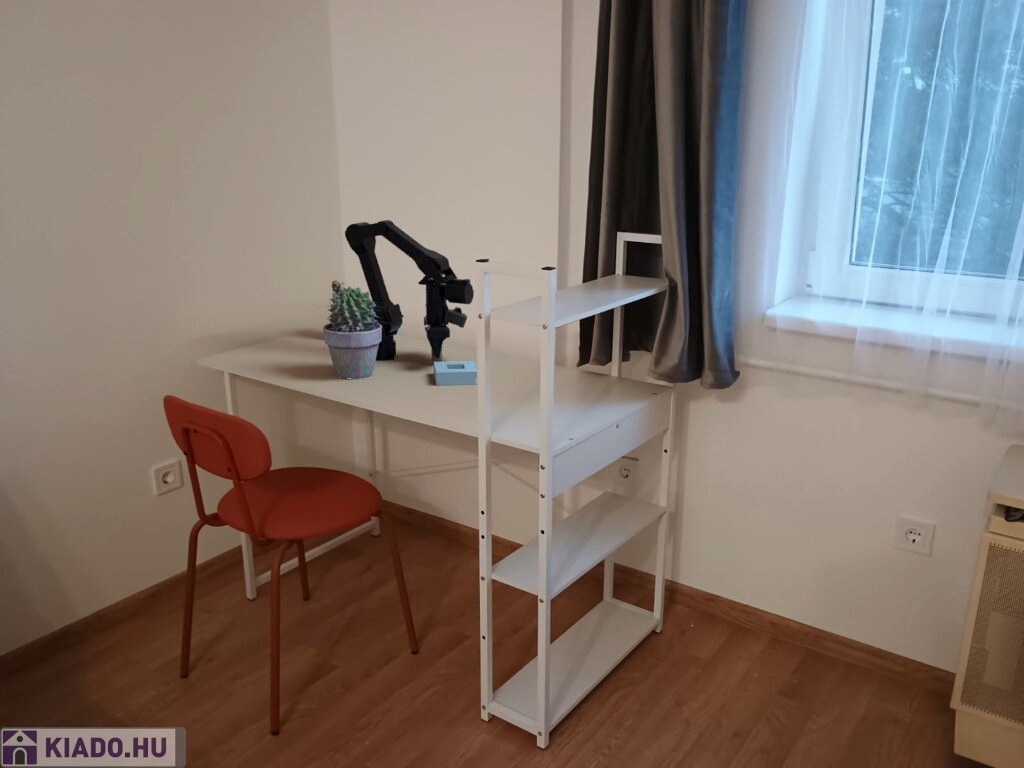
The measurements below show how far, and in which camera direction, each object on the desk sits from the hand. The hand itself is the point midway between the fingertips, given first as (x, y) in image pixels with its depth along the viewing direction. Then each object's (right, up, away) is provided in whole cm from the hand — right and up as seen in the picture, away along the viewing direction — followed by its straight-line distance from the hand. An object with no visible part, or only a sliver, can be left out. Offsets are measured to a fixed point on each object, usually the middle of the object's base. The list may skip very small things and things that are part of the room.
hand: (436, 355), depth 251 cm
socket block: (+6, -7, -14) cm, 17 cm away
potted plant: (-20, -6, -11) cm, 24 cm away
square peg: (0, -2, +1) cm, 2 cm away
